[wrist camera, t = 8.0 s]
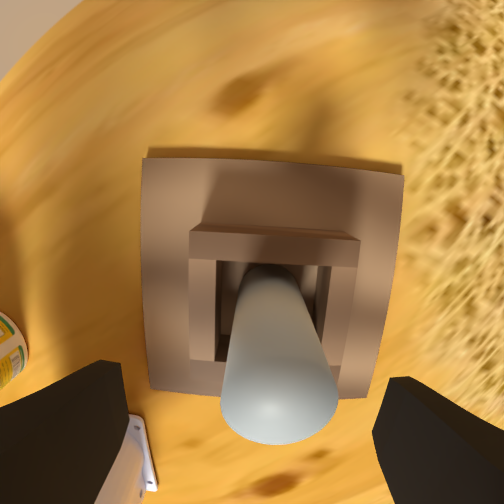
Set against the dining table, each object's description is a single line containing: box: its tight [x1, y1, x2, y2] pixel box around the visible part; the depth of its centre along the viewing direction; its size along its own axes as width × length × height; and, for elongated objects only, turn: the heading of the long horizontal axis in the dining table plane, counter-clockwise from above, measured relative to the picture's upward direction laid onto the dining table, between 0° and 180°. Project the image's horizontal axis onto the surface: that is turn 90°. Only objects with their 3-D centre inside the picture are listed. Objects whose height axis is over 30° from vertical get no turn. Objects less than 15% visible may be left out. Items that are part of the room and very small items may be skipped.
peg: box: [220, 264, 338, 445], centre depth 13 cm, size 3×3×10 cm
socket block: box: [141, 158, 404, 399], centre depth 16 cm, size 14×14×4 cm
